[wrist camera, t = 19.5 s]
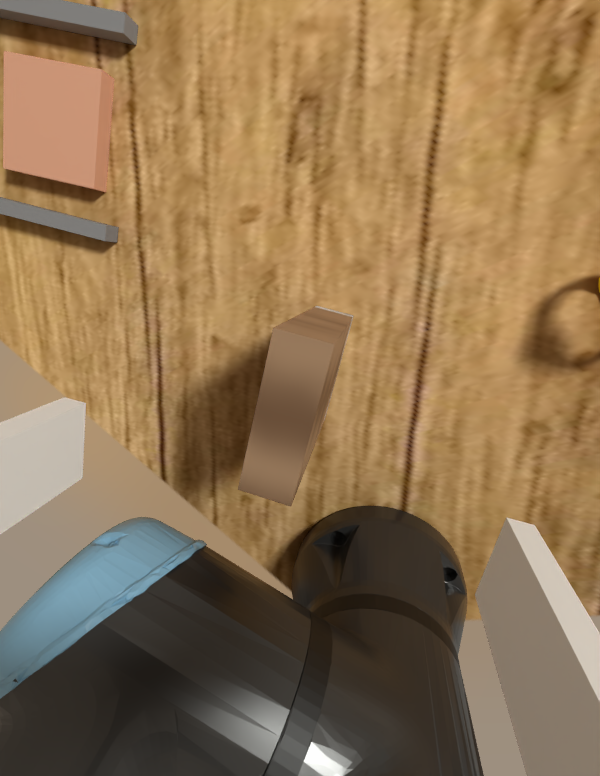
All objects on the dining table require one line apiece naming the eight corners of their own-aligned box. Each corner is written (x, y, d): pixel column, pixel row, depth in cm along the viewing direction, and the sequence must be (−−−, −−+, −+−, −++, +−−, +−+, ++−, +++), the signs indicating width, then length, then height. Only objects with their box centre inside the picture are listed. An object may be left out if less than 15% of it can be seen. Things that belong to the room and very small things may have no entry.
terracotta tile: (109, 193, 34) (93, 188, 32) (23, 174, 35) (3, 168, 33) (118, 81, 32) (101, 69, 30) (25, 63, 33) (3, 50, 31)
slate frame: (116, 242, 35) (104, 241, 33) (-22, 206, 36) (-39, 203, 35) (138, 25, 30) (125, 12, 29) (-21, -6, 32) (-42, -20, 30)
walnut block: (324, 419, 35) (290, 506, 22) (291, 409, 36) (237, 489, 22) (353, 315, 33) (334, 344, 19) (316, 305, 33) (273, 327, 20)
